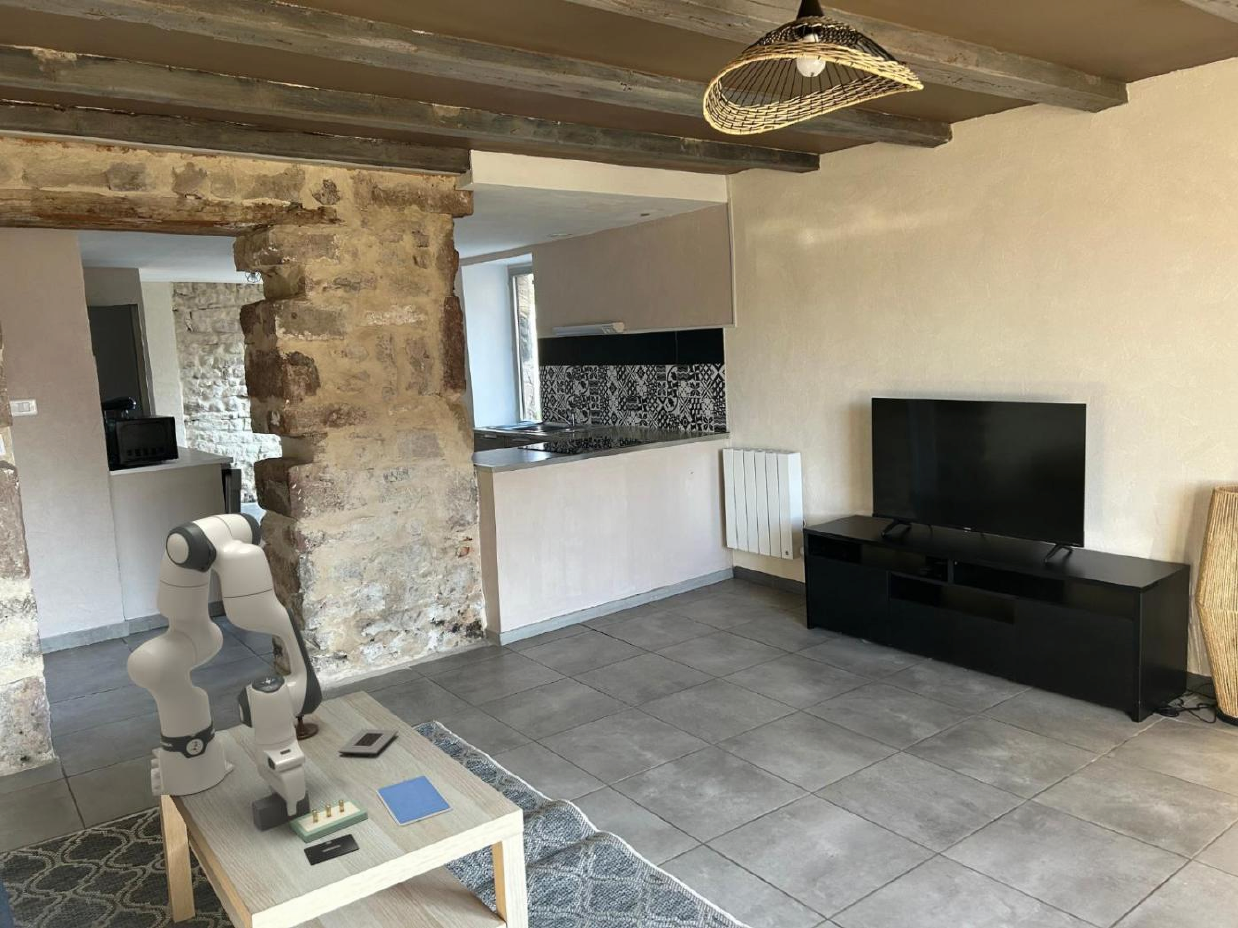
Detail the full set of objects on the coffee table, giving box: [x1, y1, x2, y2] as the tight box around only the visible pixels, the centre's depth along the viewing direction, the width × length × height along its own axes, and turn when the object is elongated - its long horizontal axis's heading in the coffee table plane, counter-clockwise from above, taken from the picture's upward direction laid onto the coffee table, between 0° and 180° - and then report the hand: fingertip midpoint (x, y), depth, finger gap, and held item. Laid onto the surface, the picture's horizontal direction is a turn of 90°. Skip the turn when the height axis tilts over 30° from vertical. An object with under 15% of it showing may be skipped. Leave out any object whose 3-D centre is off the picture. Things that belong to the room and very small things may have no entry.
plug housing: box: [251, 789, 312, 832], centre depth 203 cm, size 5×11×5 cm, turn 130°
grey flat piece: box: [337, 728, 399, 756], centre depth 237 cm, size 13×10×2 cm
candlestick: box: [286, 658, 320, 741], centre depth 245 cm, size 11×11×35 cm
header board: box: [290, 797, 369, 844], centre depth 200 cm, size 9×14×4 cm, turn 130°
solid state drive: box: [303, 833, 360, 866], centre depth 189 cm, size 7×10×1 cm
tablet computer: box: [375, 775, 454, 828], centre depth 207 cm, size 19×13×1 cm, turn 31°
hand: (283, 806), depth 203 cm, fingers open, 8 cm apart
